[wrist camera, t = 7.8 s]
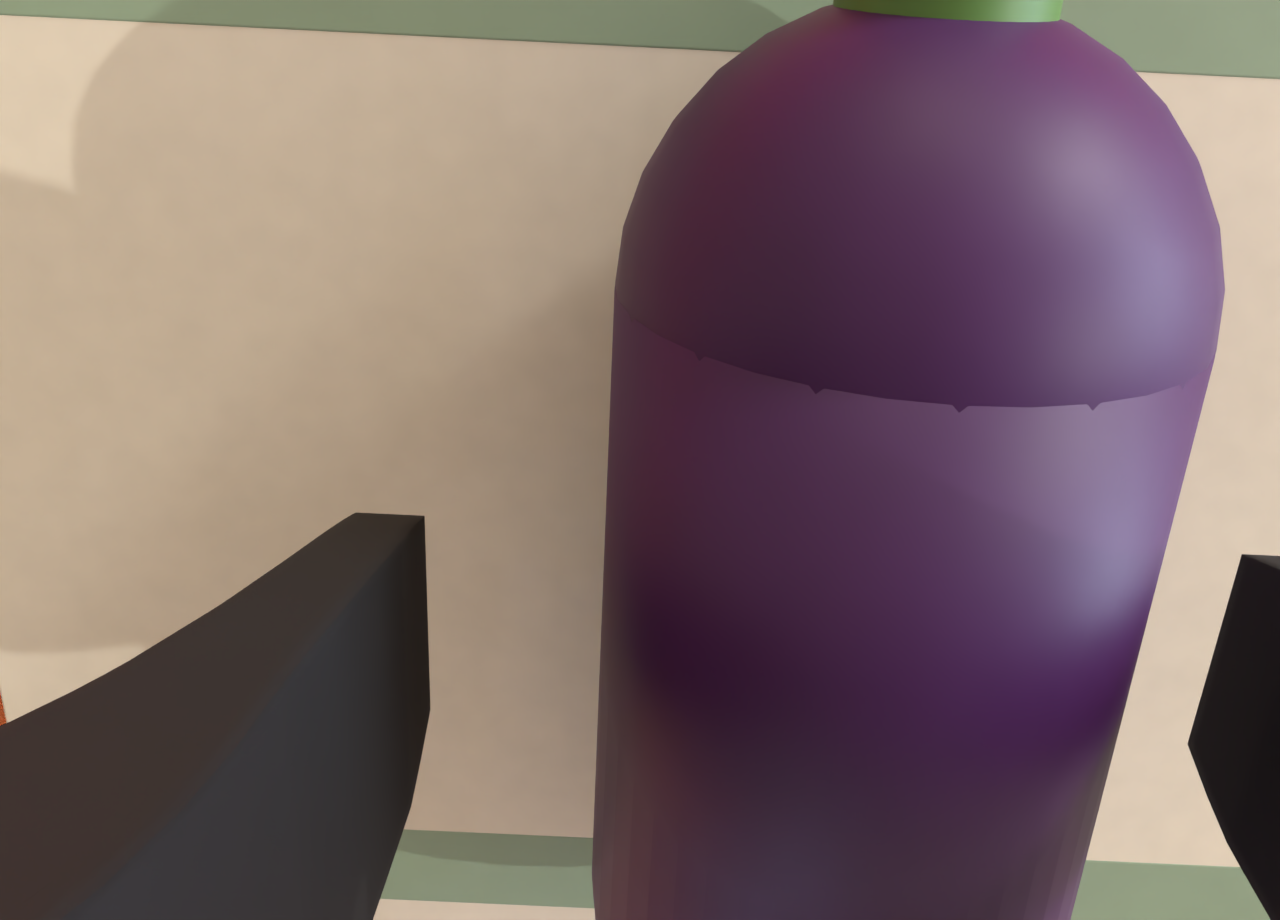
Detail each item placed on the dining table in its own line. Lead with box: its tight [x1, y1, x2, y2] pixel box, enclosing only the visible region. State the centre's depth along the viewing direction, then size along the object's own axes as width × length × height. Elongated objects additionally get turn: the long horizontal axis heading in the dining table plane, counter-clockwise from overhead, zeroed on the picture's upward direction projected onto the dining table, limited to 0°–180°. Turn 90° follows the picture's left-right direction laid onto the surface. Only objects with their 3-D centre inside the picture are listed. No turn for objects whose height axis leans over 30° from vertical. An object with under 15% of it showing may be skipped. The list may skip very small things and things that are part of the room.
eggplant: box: [592, 0, 1225, 920], centre depth 11 cm, size 12×5×5 cm, turn 177°
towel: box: [0, 0, 1280, 920], centre depth 13 cm, size 18×14×1 cm
